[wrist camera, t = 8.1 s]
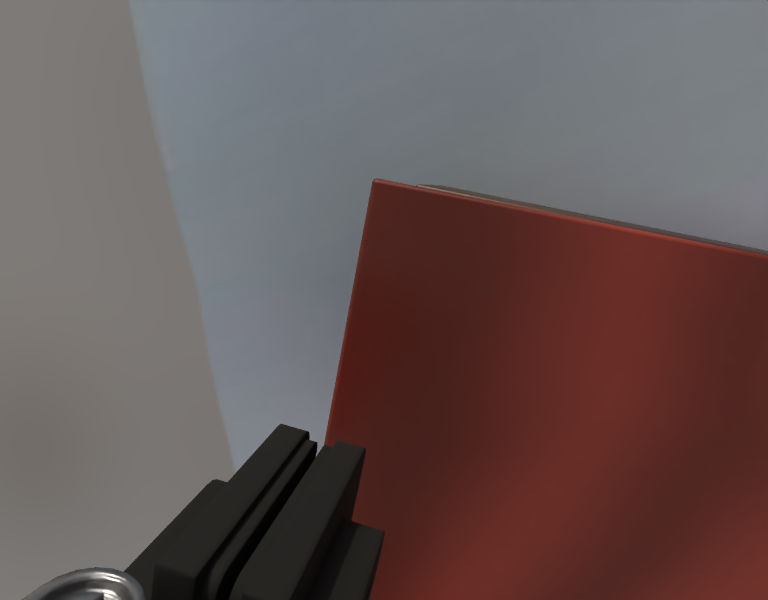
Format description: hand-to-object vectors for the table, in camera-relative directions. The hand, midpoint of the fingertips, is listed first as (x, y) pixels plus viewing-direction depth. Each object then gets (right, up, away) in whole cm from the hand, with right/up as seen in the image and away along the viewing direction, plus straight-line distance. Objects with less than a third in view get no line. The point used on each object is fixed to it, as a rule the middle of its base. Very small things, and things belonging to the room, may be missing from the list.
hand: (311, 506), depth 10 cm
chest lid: (+8, -1, +4) cm, 9 cm away
